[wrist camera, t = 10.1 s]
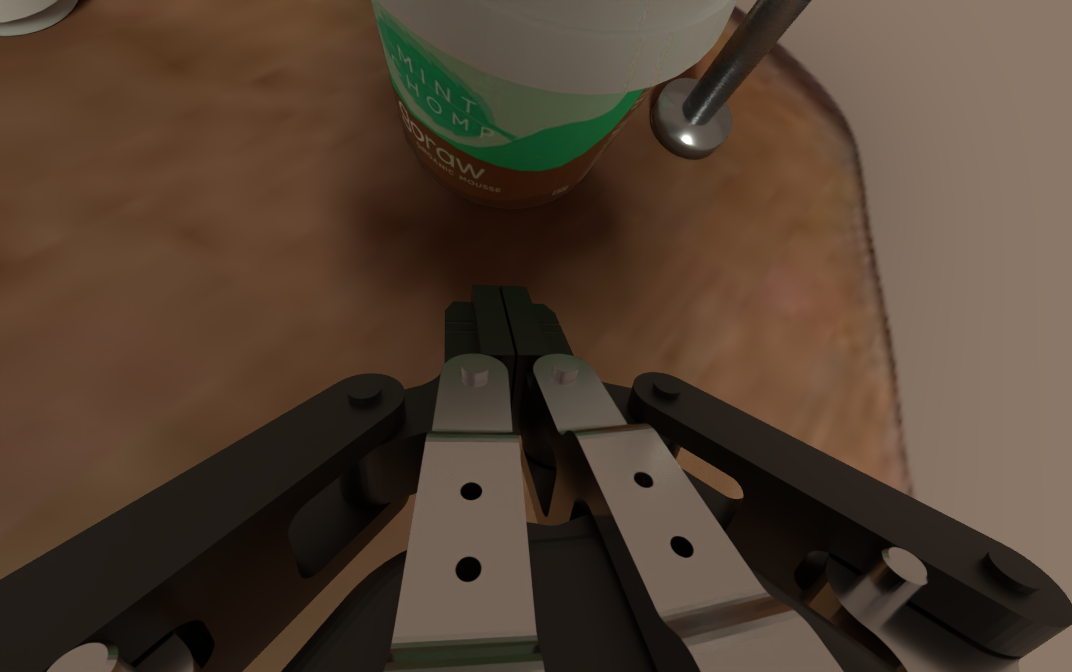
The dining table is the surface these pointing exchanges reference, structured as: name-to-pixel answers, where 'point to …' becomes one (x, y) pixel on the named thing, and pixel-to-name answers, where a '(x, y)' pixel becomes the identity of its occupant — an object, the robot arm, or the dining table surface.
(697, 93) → the post
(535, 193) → the food container
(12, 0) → the energy drink can
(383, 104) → the dining table surface
